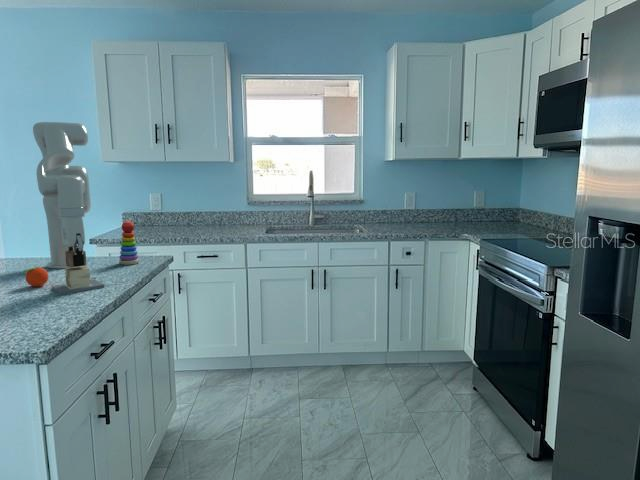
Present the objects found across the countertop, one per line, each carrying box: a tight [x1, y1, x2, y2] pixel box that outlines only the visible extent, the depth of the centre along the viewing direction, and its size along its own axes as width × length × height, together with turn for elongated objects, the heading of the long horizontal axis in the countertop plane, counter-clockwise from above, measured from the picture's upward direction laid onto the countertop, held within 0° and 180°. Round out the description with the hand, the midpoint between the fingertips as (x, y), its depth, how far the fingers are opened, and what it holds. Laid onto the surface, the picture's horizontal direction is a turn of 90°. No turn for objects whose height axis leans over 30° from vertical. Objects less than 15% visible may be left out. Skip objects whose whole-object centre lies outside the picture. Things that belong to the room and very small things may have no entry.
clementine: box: [22, 266, 49, 288], centre depth 157 cm, size 8×7×7 cm
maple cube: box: [64, 266, 91, 288], centre depth 155 cm, size 6×6×6 cm
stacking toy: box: [118, 220, 140, 266], centre depth 194 cm, size 8×8×19 cm
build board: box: [51, 279, 105, 296], centre depth 155 cm, size 10×14×1 cm
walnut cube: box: [65, 250, 88, 268], centre depth 154 cm, size 5×5×5 cm
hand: (76, 264), depth 154 cm, fingers closed on walnut cube, 5 cm apart
